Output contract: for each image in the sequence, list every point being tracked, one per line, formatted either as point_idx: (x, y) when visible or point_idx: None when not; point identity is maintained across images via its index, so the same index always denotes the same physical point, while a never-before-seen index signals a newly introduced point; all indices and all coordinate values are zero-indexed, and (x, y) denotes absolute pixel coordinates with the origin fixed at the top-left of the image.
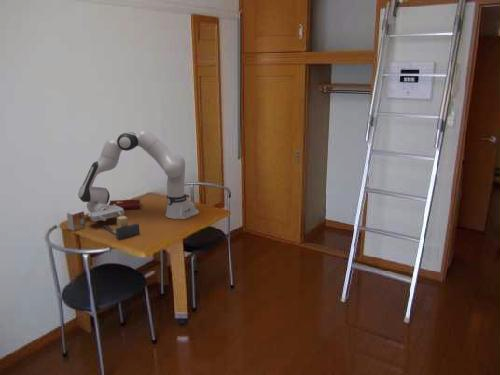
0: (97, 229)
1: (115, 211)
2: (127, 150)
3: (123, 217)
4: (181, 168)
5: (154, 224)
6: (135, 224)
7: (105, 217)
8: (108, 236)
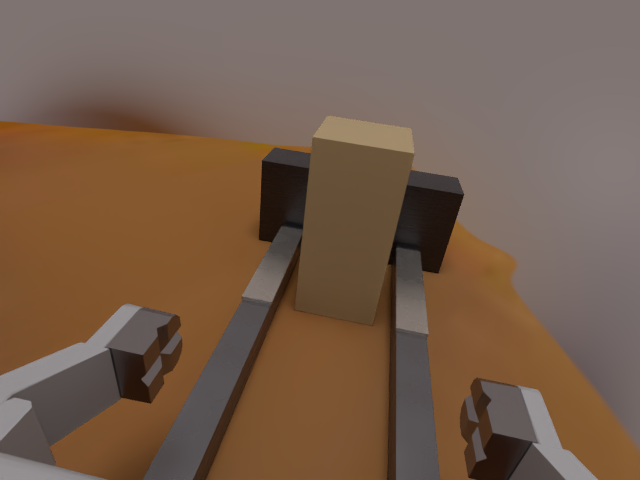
0: None
1: (21, 461)
2: None
3: (355, 128)
4: None
5: (19, 233)
6: (287, 157)
7: (499, 398)
8: (483, 338)
